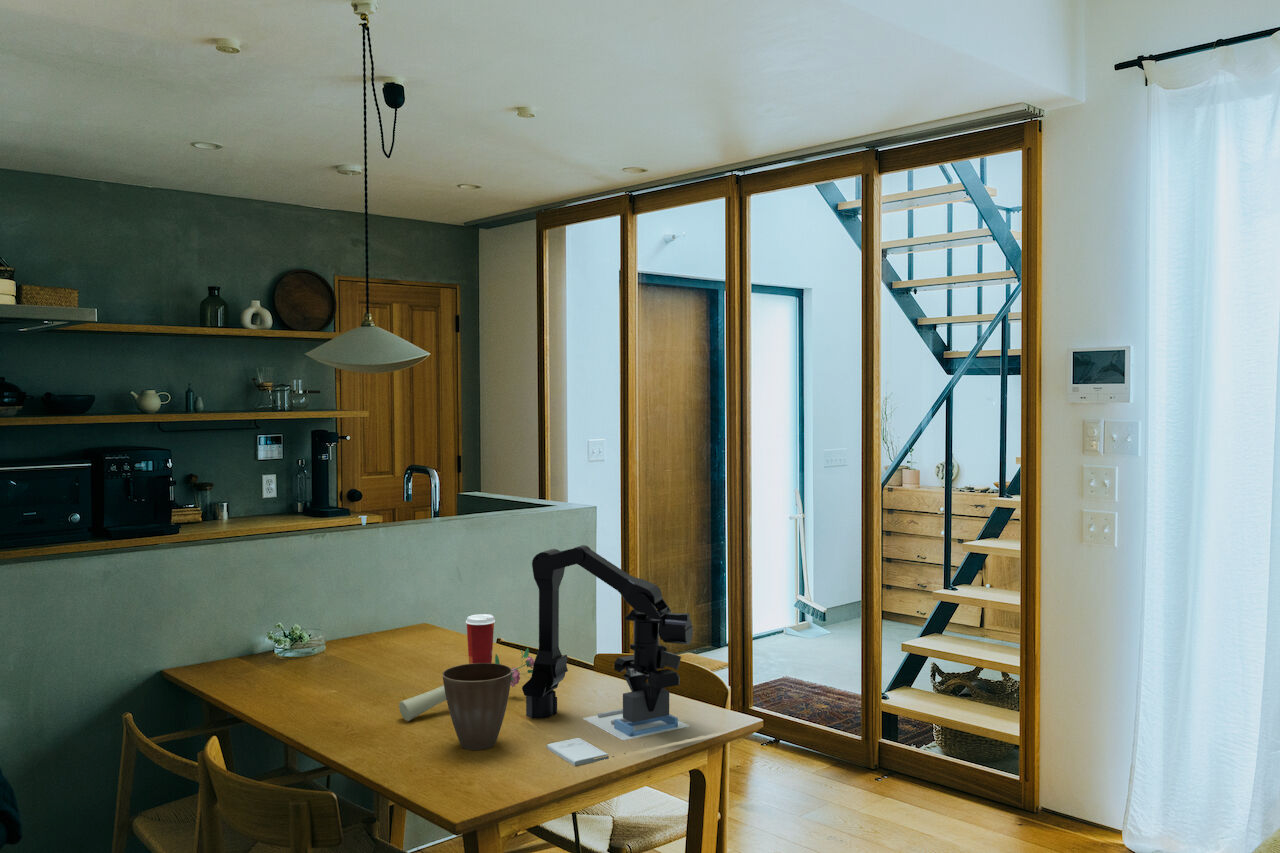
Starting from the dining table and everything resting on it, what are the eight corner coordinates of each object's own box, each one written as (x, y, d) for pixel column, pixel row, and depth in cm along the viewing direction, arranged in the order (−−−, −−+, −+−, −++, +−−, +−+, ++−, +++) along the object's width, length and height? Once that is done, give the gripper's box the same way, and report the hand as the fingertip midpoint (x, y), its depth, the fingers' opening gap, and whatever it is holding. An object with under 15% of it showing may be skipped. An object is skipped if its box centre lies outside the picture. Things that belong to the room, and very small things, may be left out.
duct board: (622, 743, 214) (622, 731, 214) (582, 721, 229) (582, 709, 229) (689, 729, 224) (690, 717, 224) (646, 709, 239) (646, 697, 239)
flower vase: (406, 747, 233) (526, 688, 255) (427, 745, 224) (549, 684, 246) (389, 700, 234) (510, 645, 256) (410, 696, 225) (533, 640, 247)
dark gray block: (632, 722, 218) (632, 697, 218) (622, 717, 222) (622, 693, 221) (669, 715, 224) (669, 691, 224) (659, 710, 227) (659, 686, 227)
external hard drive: (574, 769, 201) (546, 751, 211) (608, 761, 205) (580, 744, 216) (574, 761, 201) (546, 743, 211) (608, 753, 205) (580, 736, 215)
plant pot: (450, 760, 203) (450, 684, 203) (435, 738, 217) (435, 666, 217) (520, 751, 209) (520, 676, 209) (501, 729, 223) (501, 660, 223)
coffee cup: (501, 669, 275) (501, 615, 275) (481, 675, 268) (481, 621, 268) (478, 664, 280) (478, 612, 279) (458, 671, 273) (458, 617, 272)
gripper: (699, 644, 219) (698, 714, 219) (653, 628, 234) (652, 693, 235) (657, 651, 213) (657, 722, 213) (613, 634, 228) (613, 700, 229)
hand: (645, 709), depth 223 cm, fingers closed on dark gray block, 4 cm apart
